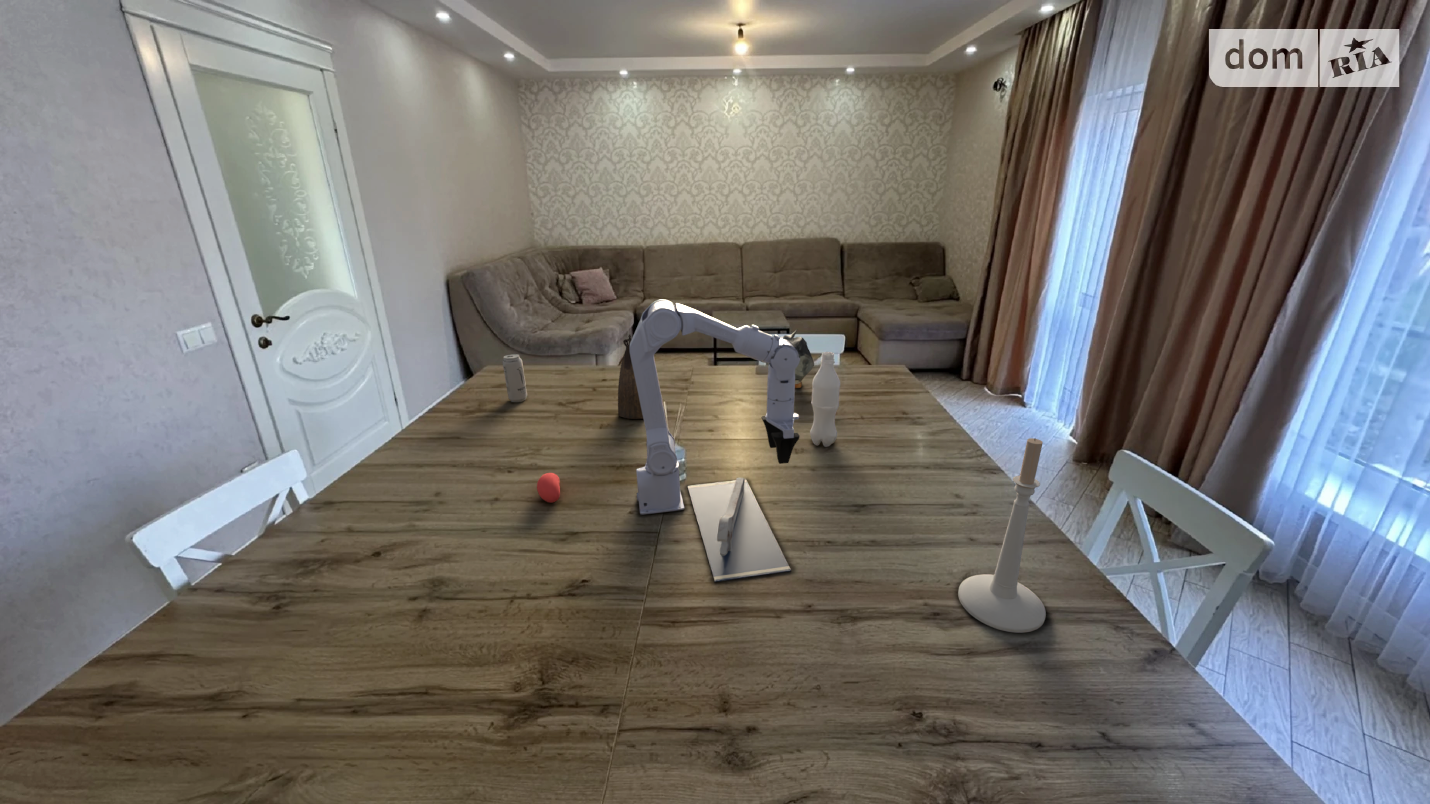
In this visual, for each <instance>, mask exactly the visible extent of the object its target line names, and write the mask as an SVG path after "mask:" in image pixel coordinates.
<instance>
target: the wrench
mask: <svg viewBox="0 0 1430 804" xmlns="http://www.w3.org/2000/svg"><path fill="white" fill-rule="evenodd" d="M744 479H745V477H736V479H735V480H736V482H735V485H734V488H733V492H732V495H731V498H730V501H729V504H728V508H727V511H726V514H725V515H724V516H721V517H720V521H719V526H718V535H717V541H719V542H721V547H720V555H721V556H725V555H726V554H727V553H728V551H731V541H732V534H733V527H734V523H735V520H736V516H737V512H738V509H739V505H740V502H741V498H742V495H743V491H744Z"/></svg>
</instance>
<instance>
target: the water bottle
mask: <svg viewBox="0 0 1430 804" xmlns="http://www.w3.org/2000/svg"><path fill="white" fill-rule="evenodd" d="M834 357H835V353H834V352H833V351H823V352H821V359H820V362H819V363H820V367H819V368H818V371H817V372H816V374H815V375H814V377H813V378H812V383H811V386H812V388H811V389H812V391H811V402H810V403H811V407H812V410H813V411H812V412H813V422H812V426H811V429H809V435H810V439H811V441H812V443H813V444H814V445H815V446H819V445H820V444H821V443H822V445H823V447H825V448H829V447H830V446H831V445H833V444H834V443H835V442H836V440H837V438H838V431H837V426H836V413H837V411H838V409H839V408H840V391H841V390H840V389H841V380H840V378H839V375H838V374H837V373H838V372H837V370H836V369H835V362H836V361H835V358H834Z"/></svg>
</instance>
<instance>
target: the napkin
mask: <svg viewBox="0 0 1430 804" xmlns="http://www.w3.org/2000/svg"><path fill="white" fill-rule="evenodd" d="M735 482H736V479H735V480H727V481H717V482H709V483H700V484H699V483H698V484H691V485H687V490H688V495H689V497H690V500H691V504H692V507H693V510H694V514H695V518H696V521H697V525H698V528H699V533H700V536H701V538H702V543H703V545H704V549H705V552H706V553H705V554H706V556H707V560H708V562H709V566H710V570H711V573H712V578H713V581H714V583H717V582H726V581H732V580H739V579H747V578H753V577H762V576H769V575H774V574H781V573H789V572H792V568H791V567H790V566H789V563H788V562H787V558H786V557H785V555H784V552H783V551H782V549H781V547H780V545H779V543H778V540H777V539H776V537H775V535H774V533H773V530H772V528H771V527H770V525H769V522H768V520H767V518H766V517H765V515H764V512H763V511H762V508H761V507H760V505H759V503H758V501H757V498H756V496H755V495H754V493H753V491H752V489H751V486H750V485H749V482H748V481H747V478H744V491H743V495H742V498H741V502H740V505H739V509H738V512H737V516H736V520H735V523H734V527H733V534H732V541H731V551H728V553H727V554H726V555H725V556H721V555H720V547H721V542H719V541H717V535H718V526H719V521H720V517H721V516H724V515H725V514H726V511H727V508H728V504H729V501H730V498H731V495H732V492H733V488H734V485H735Z"/></svg>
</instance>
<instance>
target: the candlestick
mask: <svg viewBox="0 0 1430 804" xmlns="http://www.w3.org/2000/svg"><path fill="white" fill-rule="evenodd" d="M1043 444H1044V442H1043V441H1042V440H1041V439H1038V438H1036V437H1034V438H1033V437H1029V438H1028V439H1027V440H1026V444H1025V449H1024V454H1023V459H1022V463H1021V468H1020V473H1019V475H1015V476H1013V478H1012V481H1013V482H1014V483H1015V486H1014V491H1015V493H1016V498H1015V499H1014V500H1013V504H1012V505H1013V506H1012V509H1011V514H1010V516H1009V519H1008V523H1007V527H1006V531H1005V534H1004V538H1003V541H1002V546H1001V549H1000V552H999V556H998V561H997V563H996V567H995V570H994V574H989V573H985V574H976V575H972V576H969V577H967V578H965V579H964V580H963V581H962V582H961V583H960V584H959V587H958V592H957V595H958V600H959V602H960V604H961V606H962V607H963V608H964V610H965V611H966V612H967V613H968V614H969V615H970V616H972V617H973V618H974V619H976V620H977V621H979V622H981V624H982V623H983V624H984V625H987V626H988V627H991V628H994V629H996V630H998V631H999V630H1000V631H1003V632H1008V633H1015V634H1016V633H1017V634H1018V633H1019V634H1020V633H1022V634H1024V633H1030V632H1034V631H1036V630H1038V629H1040V628H1041V627H1042V626H1043V625H1044V623H1045V622H1046V621H1045V620H1046V617H1047V616H1046V615H1047V613H1046V608H1045V605H1044V603H1043V602H1042V600H1041V599H1040V598H1039V597H1038V595H1037V594H1036V593H1035V592H1033V591H1032V590H1031V589H1029V588H1028V587H1026V585H1024V584H1023V583H1020V582H1018V581H1019V576H1020V575H1019V574H1020V568H1021V562H1022V554H1023V548H1024V543H1025V542H1024V541H1025V535H1026V527H1027V522H1028V514H1029V509H1030V508H1029V507H1030V506H1031V504H1030V502H1029V500H1030V498H1031V497H1032V496H1033V495H1034V494H1035V493H1036V490H1035V489H1037V488H1039V487H1040V486H1041V482H1040V481H1039V480H1037V479H1036V476H1037V472H1038V466H1039V462H1040V457H1041V453H1042V448H1043Z"/></svg>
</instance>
